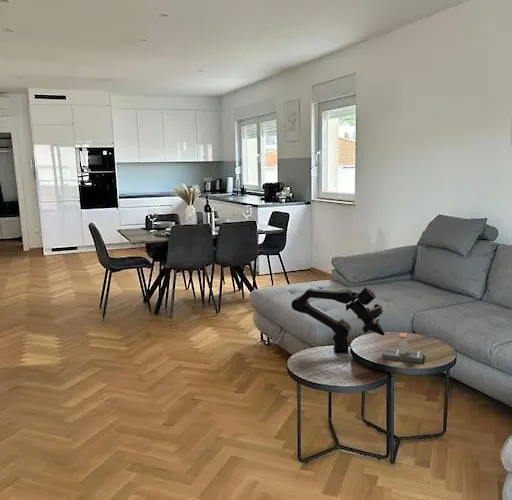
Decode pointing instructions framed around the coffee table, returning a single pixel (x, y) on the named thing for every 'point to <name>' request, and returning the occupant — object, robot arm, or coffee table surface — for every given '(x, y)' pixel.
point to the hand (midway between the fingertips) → (384, 334)
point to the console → (403, 355)
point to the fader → (402, 343)
